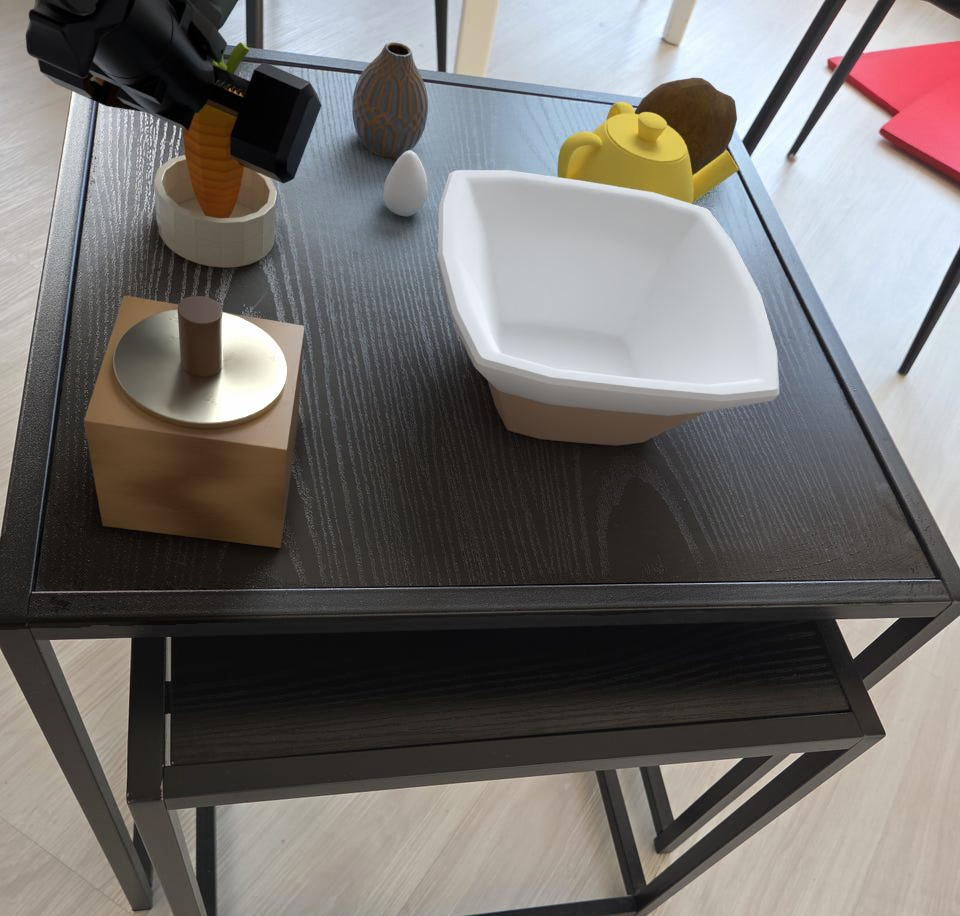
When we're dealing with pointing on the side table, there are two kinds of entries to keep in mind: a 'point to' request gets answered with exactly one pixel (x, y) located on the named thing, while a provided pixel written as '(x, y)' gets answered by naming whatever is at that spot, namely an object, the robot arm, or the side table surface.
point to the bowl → (599, 306)
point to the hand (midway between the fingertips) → (224, 131)
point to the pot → (215, 219)
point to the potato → (695, 116)
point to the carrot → (214, 152)
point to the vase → (390, 103)
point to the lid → (200, 366)
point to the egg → (406, 185)
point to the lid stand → (193, 454)
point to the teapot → (640, 157)
